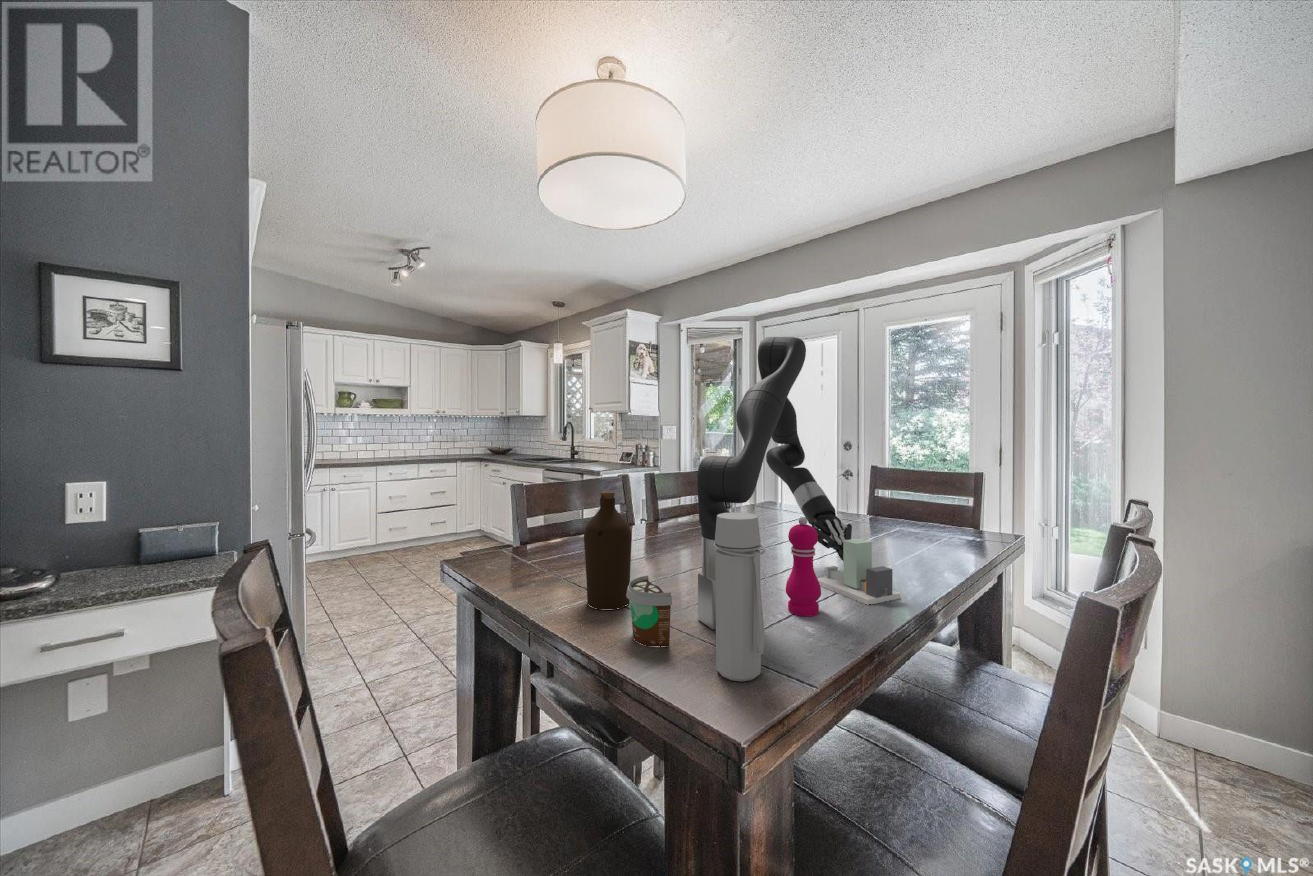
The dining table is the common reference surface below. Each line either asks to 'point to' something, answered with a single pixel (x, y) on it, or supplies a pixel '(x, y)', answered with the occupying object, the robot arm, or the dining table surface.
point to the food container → (649, 612)
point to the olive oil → (607, 556)
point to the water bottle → (738, 596)
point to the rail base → (854, 592)
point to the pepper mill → (803, 571)
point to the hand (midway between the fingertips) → (849, 560)
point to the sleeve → (856, 561)
